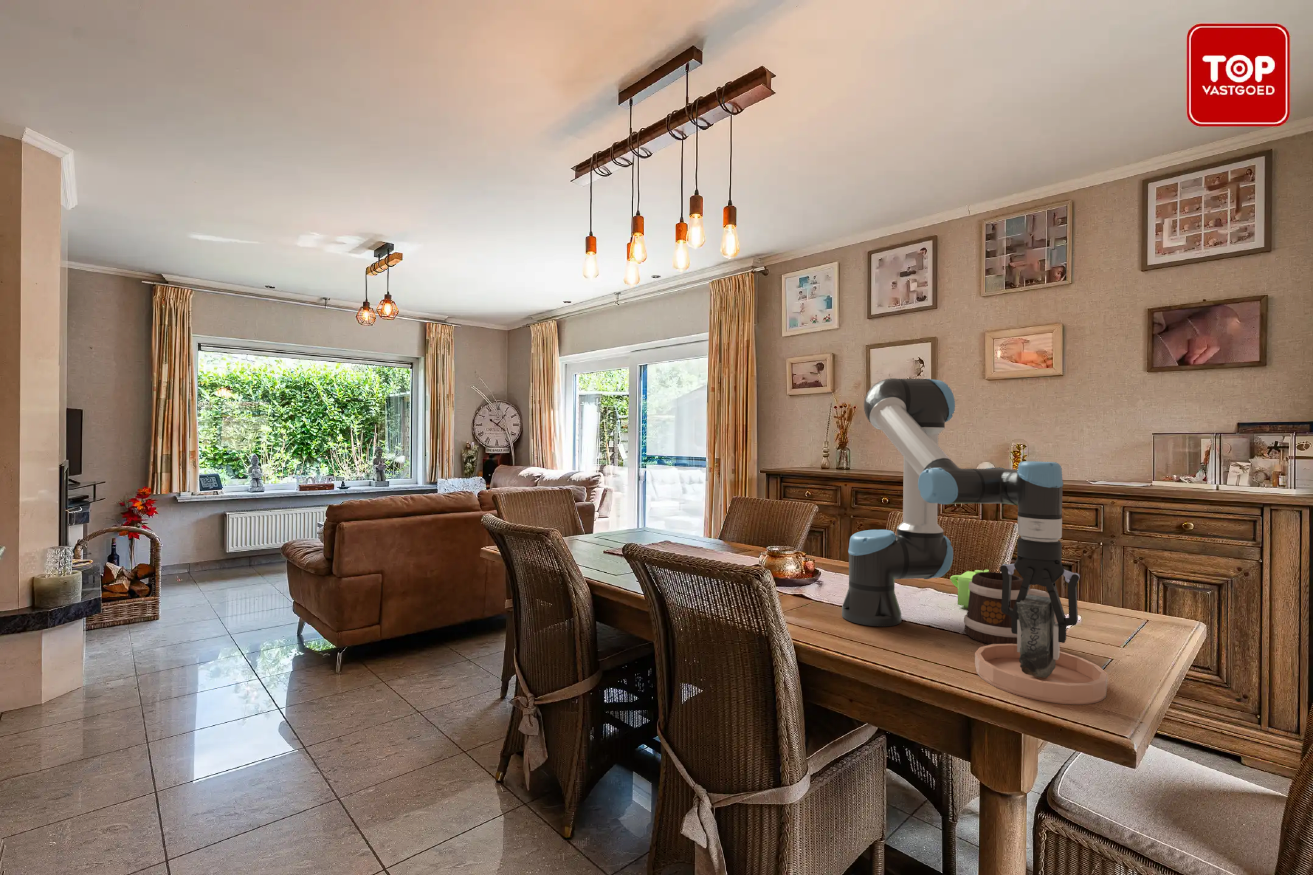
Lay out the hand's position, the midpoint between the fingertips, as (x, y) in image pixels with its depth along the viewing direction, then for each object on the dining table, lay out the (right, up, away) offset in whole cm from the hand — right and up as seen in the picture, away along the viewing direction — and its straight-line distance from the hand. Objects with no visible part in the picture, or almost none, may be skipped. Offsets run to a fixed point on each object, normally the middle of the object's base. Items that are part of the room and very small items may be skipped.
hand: (1038, 653), depth 121 cm
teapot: (+16, -6, +52) cm, 55 cm away
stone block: (-2, -4, +1) cm, 4 cm away
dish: (0, -5, 0) cm, 5 cm away
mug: (+8, -6, +24) cm, 26 cm away
